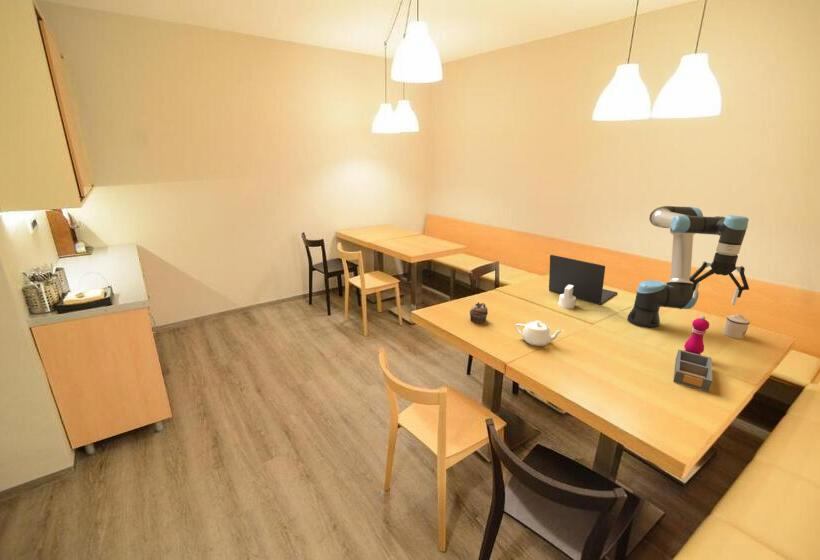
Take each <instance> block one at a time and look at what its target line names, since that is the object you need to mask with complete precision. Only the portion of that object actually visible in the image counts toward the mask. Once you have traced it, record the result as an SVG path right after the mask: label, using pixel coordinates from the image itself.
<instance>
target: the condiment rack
mask: <svg viewBox="0 0 820 560" xmlns="http://www.w3.org/2000/svg"><path fill="white" fill-rule="evenodd" d="M675 361H676V362H675V364H674V372H673V383H676V384H680V385H683V386H686V387H689V388H694V389H697V390H701V391H704V392H706V393H709V392H710V390H711V387H712V384H713V373H712V372H713V371H712V358H711V357H710V356H707V355H702V354H701V355H699V354H695V353H691V352H687V351H684V350H682V349H678V350H677V353H676V356H675Z"/></svg>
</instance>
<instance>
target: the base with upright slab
mask: <svg viewBox="0 0 820 560" xmlns="http://www.w3.org/2000/svg"><path fill="white" fill-rule="evenodd" d="M573 287H574V286H573V285H568V286H567V287H566V288H565V290H564V294H560V293H559V299H558V303H557V305H558V307H560V308H563V309H567V310H568V309H569V310H570V309H571V310H572V309H574V308H575V305H576V299H577V298H576V297H575V296H573V295H572V293H573Z"/></svg>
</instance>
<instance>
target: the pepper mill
mask: <svg viewBox="0 0 820 560" xmlns="http://www.w3.org/2000/svg"><path fill="white" fill-rule="evenodd" d="M691 324H692V328H691V332H692V333H691V336H690V337H689V338H688V339H687V340H686V341H685V343H684V345H683V347H684V350H683V351H687V352H691V353H695V354H699V355H702V354H703V352H704V351H705V344H704V336H705V335H706V332H707V330H708V329H709V328H710V322H709V321H708V320H706V316H704V315H701V316H700V317H699V318H695V319H694V320H693V321H692V322H691Z"/></svg>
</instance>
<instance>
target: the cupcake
mask: <svg viewBox="0 0 820 560" xmlns="http://www.w3.org/2000/svg"><path fill="white" fill-rule="evenodd" d="M487 317H488V307H487V306H486V303H485V302H481V303H480V302H477V303H475V304H474V305H473V306H472V307H471V309H470V310H469V318H470V321H471V322H473V323H474V324H477V323H478V324H483V323H485V322H486V320H487Z"/></svg>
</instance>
